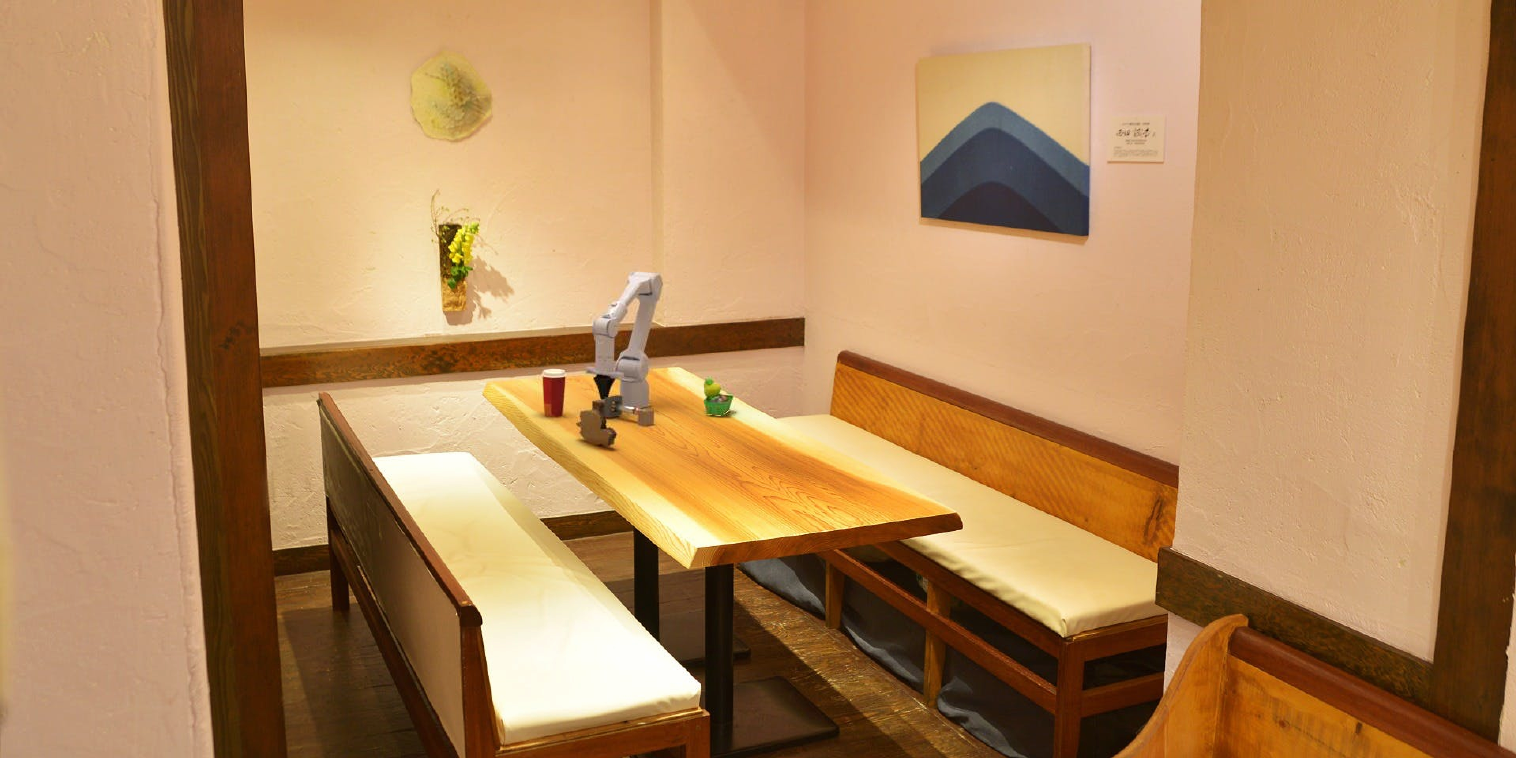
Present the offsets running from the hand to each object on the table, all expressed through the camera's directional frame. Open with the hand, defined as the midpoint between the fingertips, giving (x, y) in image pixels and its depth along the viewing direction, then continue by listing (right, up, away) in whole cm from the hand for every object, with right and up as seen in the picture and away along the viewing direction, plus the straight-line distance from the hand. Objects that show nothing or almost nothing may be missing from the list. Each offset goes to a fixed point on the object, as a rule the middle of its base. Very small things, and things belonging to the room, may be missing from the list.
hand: (604, 399), depth 403 cm
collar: (+3, -6, -1) cm, 6 cm away
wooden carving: (+2, -13, -35) cm, 37 cm away
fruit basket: (+35, -5, +10) cm, 37 cm away
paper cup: (-16, -5, -1) cm, 17 cm away
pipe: (+6, -6, -4) cm, 9 cm away
